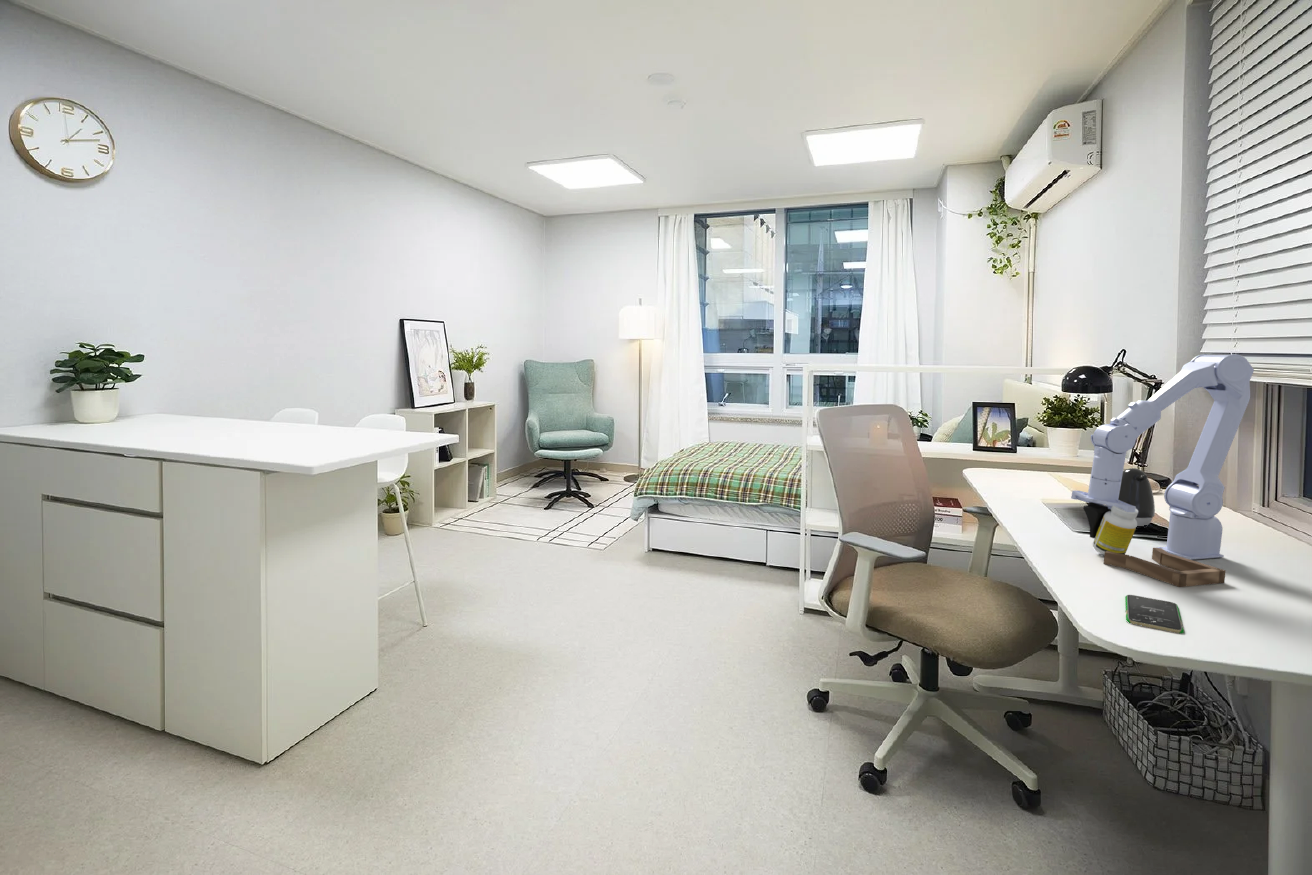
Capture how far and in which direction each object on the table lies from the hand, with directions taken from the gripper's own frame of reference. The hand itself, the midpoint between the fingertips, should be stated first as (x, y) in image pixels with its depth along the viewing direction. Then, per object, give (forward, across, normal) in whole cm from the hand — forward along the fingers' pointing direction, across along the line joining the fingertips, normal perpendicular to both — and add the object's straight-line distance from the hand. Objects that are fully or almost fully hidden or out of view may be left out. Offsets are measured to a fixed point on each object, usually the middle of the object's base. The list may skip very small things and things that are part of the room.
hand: (1096, 537), depth 149 cm
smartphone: (+4, +32, -21) cm, 39 cm away
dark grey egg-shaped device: (+2, -16, +27) cm, 32 cm away
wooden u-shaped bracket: (+3, +15, +2) cm, 15 cm away
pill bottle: (+2, +2, +1) cm, 4 cm away
